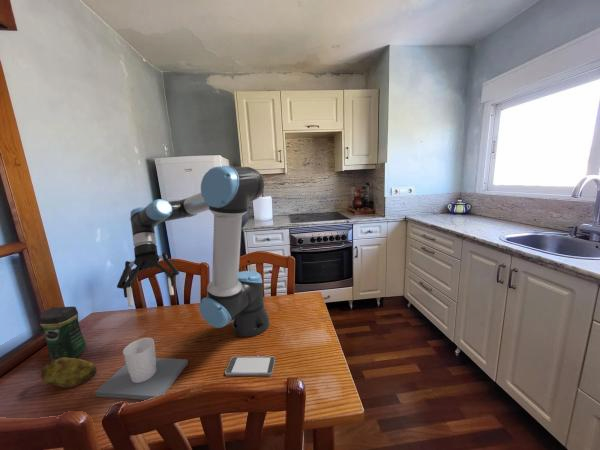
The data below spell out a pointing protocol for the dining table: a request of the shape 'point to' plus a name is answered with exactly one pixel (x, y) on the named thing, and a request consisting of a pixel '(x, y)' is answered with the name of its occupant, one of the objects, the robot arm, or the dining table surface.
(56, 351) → the coffee jar
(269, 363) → the smartphone
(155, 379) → the grey board
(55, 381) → the potato
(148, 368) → the white cup
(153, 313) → the dining table surface
